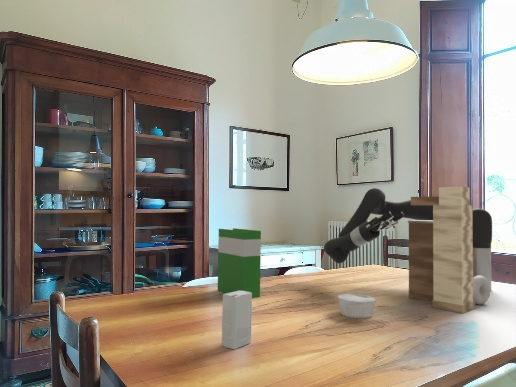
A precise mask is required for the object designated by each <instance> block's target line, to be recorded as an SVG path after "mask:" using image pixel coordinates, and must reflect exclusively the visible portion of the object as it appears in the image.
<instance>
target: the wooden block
mask: <svg viewBox="0 0 516 387" xmlns="http://www.w3.org/2000/svg"><path fill="white" fill-rule="evenodd" d="M472 209H473V205H470V206H468V205H433V300H431V303H432V304H431V308H433V309H439V310H443V311H449V312H453V313H459V314H465V313H468V312H469V311H473V310H475V308H476V307H475V303H474V301H473V219H472Z"/></svg>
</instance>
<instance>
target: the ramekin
mask: <svg viewBox="0 0 516 387" xmlns="http://www.w3.org/2000/svg"><path fill="white" fill-rule="evenodd" d="M337 301H338V306H339V311H340V314H342V316H344V317H347V318H351V319H368V318H371V317H372V316H373V313H374V310H375V304H376V298H375V297H374V296H373V297H372V296H370V295H365V294H359V293H357V294H356V293H344V294H343V293H342V294H340V295H338V296H337Z"/></svg>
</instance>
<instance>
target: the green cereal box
mask: <svg viewBox="0 0 516 387" xmlns="http://www.w3.org/2000/svg"><path fill="white" fill-rule="evenodd" d="M261 240H262V231H261V230H256V229H246V228H233V227H232V229H225V228H218V241H217V242H218V244H217V246H218V250H217V256H218V257H217V291H218V292H220V293H223V294H226V293H231V292H235V291H246V292H251V293H252V299H256V298H260V297H261V254H262V253H261V252H262V251H261V249H262V248H261V246H262V245H261V244H262V242H261Z"/></svg>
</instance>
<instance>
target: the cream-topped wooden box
mask: <svg viewBox="0 0 516 387" xmlns="http://www.w3.org/2000/svg"><path fill="white" fill-rule="evenodd" d="M407 223H408V298H409V299H416V300H424V301H425V300H426V301H432V300H433V220H414V219H410V220H407Z"/></svg>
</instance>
